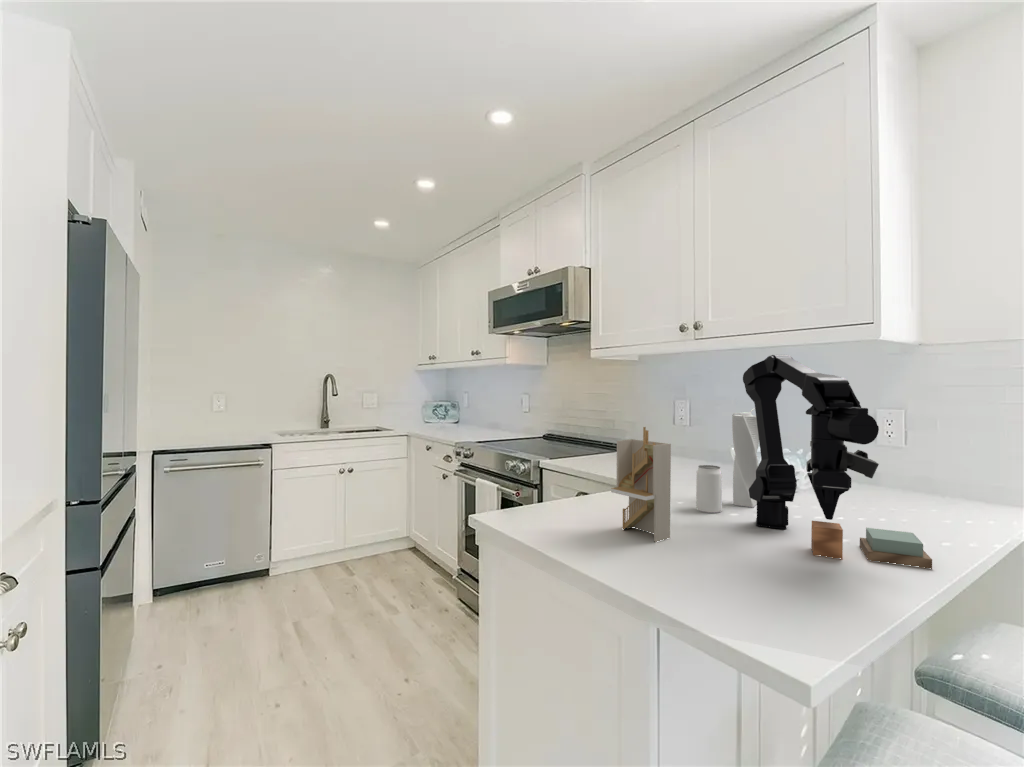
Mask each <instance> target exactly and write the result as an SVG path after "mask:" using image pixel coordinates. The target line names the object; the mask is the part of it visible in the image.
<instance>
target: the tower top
mask: <svg viewBox="0 0 1024 767" xmlns="http://www.w3.org/2000/svg"><path fill="white" fill-rule="evenodd" d="M865 538H866V540H867V542H868V543H869V545H870V547H871V549H872V550H873V551H881V552H888V553H896V554H904V555H912V556H920V557H923V550H924V543H923V542H922V541H921V539H919V538H918V537H917V535H916V534H915V533H914V532H911V531H910V532H909V531H902V530H901V531H899V530H891V529H883V528H882V529H881V528H874V527H866V528H865Z"/></svg>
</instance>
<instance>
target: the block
mask: <svg viewBox="0 0 1024 767" xmlns="http://www.w3.org/2000/svg"><path fill="white" fill-rule="evenodd" d="M843 533H844V529H843V527H842V526H841V523H838V522H828V521H822V520H821V521H819V520H811V535H810V536H811V544H810V547H811V548H812V549H811V548H810V549H811V552H812V551H813V552H812V556H813V555H821V556H827V557H833V558H832V559H834V558H841V559H840V560H843V558H844V557H843V549H844V548H843V546H844V544H843V541H844V536H843V535H844V534H843ZM827 557H826V558H827Z"/></svg>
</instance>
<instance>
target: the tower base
mask: <svg viewBox="0 0 1024 767" xmlns="http://www.w3.org/2000/svg"><path fill="white" fill-rule="evenodd" d="M859 547H860V549H861V548H862V549H861V551H862V550H863V551H862V553H863V552H864V553H865V554H864V553H863V554H864V556H865V555H866V556H865V558H866V557H867V558H868V559H867V558H866V559H867V561H868V560H871V561H870V562H873V561H880V562H879V563H881V562H889V563H896V564H904V565H911V566H919V567H925V568H924V569H926V568H931V569H930V570H933V559H932V558H931V556H930V555H929V554H927V553H926V551H924V549H923V557H920V556H912V555H904V554H896V553H888V552H881V551H873V550H872V549H871V547H870V545H869V543H868V542H867V540H866V537H859ZM896 564H895V565H896ZM911 566H910V567H911Z"/></svg>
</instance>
